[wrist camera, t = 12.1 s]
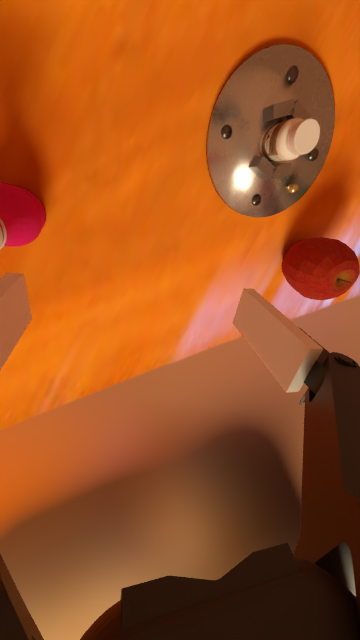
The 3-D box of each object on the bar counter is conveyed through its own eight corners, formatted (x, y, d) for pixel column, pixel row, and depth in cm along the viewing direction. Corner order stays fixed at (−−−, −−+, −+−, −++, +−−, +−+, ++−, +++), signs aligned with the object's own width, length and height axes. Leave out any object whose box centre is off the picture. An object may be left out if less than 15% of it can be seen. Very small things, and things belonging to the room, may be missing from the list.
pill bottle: (264, 121, 33) (300, 107, 26) (290, 129, 34) (330, 118, 27) (254, 158, 35) (284, 154, 28) (279, 164, 36) (313, 162, 30)
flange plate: (226, 21, 27) (238, 3, 24) (355, 73, 33) (378, 63, 30) (194, 207, 37) (200, 209, 34) (297, 223, 43) (310, 227, 40)
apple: (274, 233, 43) (331, 254, 31) (322, 226, 44) (394, 244, 32) (266, 284, 48) (313, 319, 37) (310, 277, 50) (367, 308, 38)
